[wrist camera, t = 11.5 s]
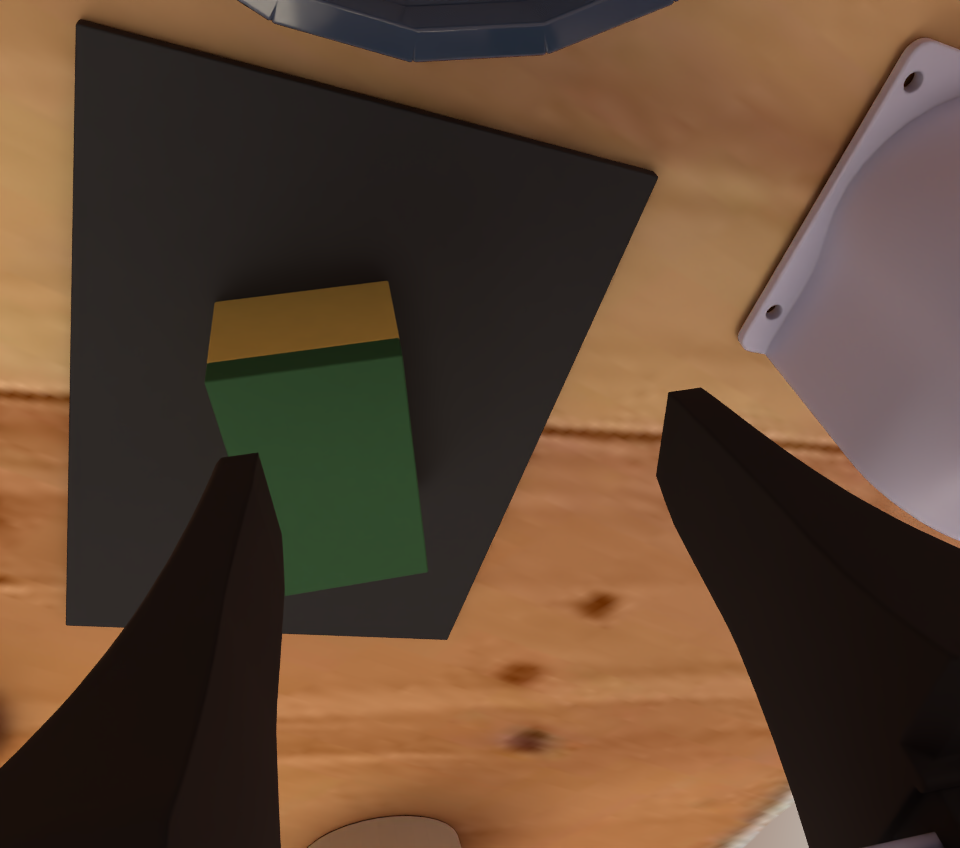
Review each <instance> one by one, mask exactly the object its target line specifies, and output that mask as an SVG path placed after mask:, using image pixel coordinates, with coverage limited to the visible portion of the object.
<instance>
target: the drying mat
mask: <svg viewBox="0 0 960 848" xmlns="http://www.w3.org/2000/svg"><path fill="white" fill-rule="evenodd" d="M657 179H658V176H657V175H656V174H655V173H654V172H653V171H650V170H646V169H643V168H639V167H635V166H631V165H628V164H624V163H620V162H616V161H612V160H609V159H605V158H601V157H597V156H594V155H590V154H586V153H582V152H578V151H575V150H571V149H567V148H563V147H560V146H556V145H552V144H548V143H545V142H541V141H537V140H533V139H529V138H526V137H522V136H518V135H514V134H511V133H507V132H503V131H499V130H496V129H492V128H488V127H484V126H480V125H477V124H473V123H469V122H465V121H462V120H458V119H454V118H450V117H447V116H443V115H439V114H435V113H431V112H428V111H424V110H420V109H416V108H413V107H409V106H405V105H401V104H397V103H394V102H390V101H386V100H382V99H379V98H375V97H371V96H367V95H364V94H360V93H356V92H352V91H348V90H345V89H341V88H337V87H333V86H330V85H326V84H322V83H318V82H315V81H311V80H307V79H303V78H299V77H296V76H292V75H288V74H284V73H281V72H277V71H273V70H269V69H266V68H262V67H258V66H254V65H250V64H247V63H243V62H239V61H235V60H232V59H228V58H224V57H220V56H216V55H213V54H209V53H205V52H201V51H198V50H194V49H190V48H186V47H183V46H179V45H175V44H171V43H167V42H164V41H160V40H156V39H152V38H149V37H145V36H141V35H137V34H134V33H130V32H126V31H122V30H118V29H115V28H111V27H107V26H103V25H100V24H96V23H92V22H88V21H85V20H79V21H78V22H77V24H76V47H75V107H74V167H73V228H72V288H71V348H70V409H69V469H68V529H67V589H66V625H70V626H96V627H123V628H125V626H126V625H127V624H128V622H129V621H130V619H131V618H132V616H133V615H134V613H135V612H136V611H137V609H138V608H139V606H140V605H141V603H142V602H143V600H144V599H145V597H146V595H147V594H148V592H149V591H150V589H151V587H152V586H153V584H154V582H155V581H156V579H157V578H158V576H159V574H160V573H161V571H162V570H163V568H164V566H165V565H166V563H167V561H168V560H169V558H170V556H171V554H172V553H173V551H174V549H175V547H176V545H177V543H178V542H179V540H180V538H181V536H182V534H183V532H184V530H185V529H186V527H187V525H188V523H189V521H190V519H191V517H192V515H193V513H194V511H195V509H196V507H197V505H198V503H199V501H200V499H201V497H202V495H203V493H204V490H205V488H206V486H207V484H208V481H209V479H210V477H211V475H212V472H213V470H214V468H215V465H216V463H217V462H218V461H219V460H220V459H221V458H223V457H228V454H227V451H226V448H225V445H224V442H223V439H222V436H221V433H220V430H219V427H218V423H217V420H216V417H215V414H214V411H213V408H212V405H211V402H210V399H209V396H208V392H207V389H206V386H205V383H204V382H205V374H206V366H207V358H208V350H209V343H210V335H211V327H212V319H213V311H214V304H215V302H219V301H227V300H235V299H243V298H251V297H259V296H268V295H276V294H284V293H292V292H300V291H308V290H316V289H324V288H332V287H340V286H348V285H356V284H364V283H372V282H381V281H388V282H389V288H390V293H391V298H392V303H393V308H394V313H395V319H396V324H397V329H398V334H399V340H400V344H401V350H402V355H403V362H404V371H405V379H406V388H407V396H408V404H409V413H410V421H411V430H412V438H413V446H414V455H415V463H416V472H417V480H418V488H419V497H420V505H421V514H422V522H423V530H424V539H425V547H426V556H427V564H428V572H426V573H420V574H414V575H408V576H402V577H396V578H390V579H384V580H378V581H372V582H366V583H360V584H354V585H348V586H342V587H336V588H330V589H324V590H318V591H312V592H306V593H301V594H295V595H289V596H284V611H283V627H282V634H307V635H334V636H360V637H386V638H413V639H439V640H447V639H448V637H449V634H450V632H451V630H452V628H453V626H454V623H455V621H456V619H457V617H458V615H459V613H460V610H461V608H462V606H463V604H464V602H465V599H466V597H467V595H468V593H469V591H470V588H471V586H472V584H473V582H474V580H475V577H476V575H477V573H478V571H479V569H480V567H481V564H482V562H483V560H484V558H485V556H486V553H487V551H488V549H489V547H490V545H491V542H492V540H493V538H494V536H495V534H496V532H497V529H498V527H499V525H500V523H501V521H502V518H503V516H504V514H505V512H506V510H507V507H508V505H509V503H510V501H511V499H512V496H513V494H514V492H515V490H516V488H517V486H518V483H519V481H520V479H521V477H522V475H523V472H524V470H525V468H526V466H527V464H528V461H529V459H530V457H531V455H532V453H533V451H534V448H535V446H536V444H537V442H538V440H539V437H540V435H541V433H542V431H543V429H544V426H545V424H546V422H547V420H548V418H549V416H550V413H551V411H552V409H553V407H554V405H555V402H556V400H557V398H558V396H559V394H560V391H561V389H562V387H563V385H564V383H565V380H566V378H567V376H568V374H569V372H570V370H571V367H572V365H573V363H574V361H575V359H576V356H577V354H578V352H579V350H580V348H581V345H582V343H583V341H584V339H585V337H586V335H587V332H588V330H589V328H590V326H591V324H592V321H593V319H594V317H595V315H596V313H597V310H598V308H599V306H600V304H601V302H602V299H603V297H604V295H605V293H606V291H607V289H608V286H609V284H610V282H611V280H612V278H613V275H614V273H615V271H616V269H617V267H618V264H619V262H620V260H621V258H622V256H623V254H624V251H625V249H626V247H627V245H628V243H629V240H630V238H631V236H632V234H633V232H634V229H635V227H636V225H637V223H638V221H639V218H640V216H641V214H642V212H643V210H644V208H645V205H646V203H647V201H648V199H649V197H650V194H651V192H652V190H653V188H654V186H655V183H656V181H657Z"/></svg>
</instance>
